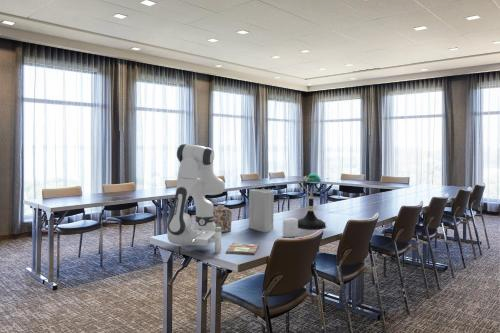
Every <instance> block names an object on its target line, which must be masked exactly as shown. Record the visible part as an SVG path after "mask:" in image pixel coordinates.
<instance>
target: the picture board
mask: <svg viewBox="0 0 500 333" xmlns="http://www.w3.org/2000/svg"><path fill="white" fill-rule="evenodd" d="M259 247H260V244H257V243H239V242H232V243H231V244H230V245H229V247H228V248H227V249H226V250H225V253H226V254H235V255H236V254H238V255H253V256H254V255H256V253H257V252H258V251H257V250H258V249H259Z"/></svg>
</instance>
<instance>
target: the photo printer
mask: <svg viewBox="0 0 500 333" xmlns="http://www.w3.org/2000/svg"><path fill="white" fill-rule="evenodd" d="M298 220H299V219H297V218H294V217H287V218H285V219H284V220H283V221H282V222H283V223H282V238H291V237H292V238H293V237H298V233H299V232H298V229H299V227H298Z"/></svg>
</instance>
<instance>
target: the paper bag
mask: <svg viewBox="0 0 500 333" xmlns="http://www.w3.org/2000/svg"><path fill="white" fill-rule="evenodd" d="M248 190H249V194H248V195H249V196H248V198H249V199H248V201H249V202H248V203H249V204H248V228H249V229H253V230H254V231H255V230H256V231H260V232H262V233H270V232H271V231H272V230H273V229H274V213H275V212H274V211H275V208H274V207H275V206H274V205H275V203H274V202H275V197H274V196H275V189H256V188H255V189H253V188H252V189H248Z"/></svg>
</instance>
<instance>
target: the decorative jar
mask: <svg viewBox="0 0 500 333" xmlns="http://www.w3.org/2000/svg"><path fill="white" fill-rule="evenodd" d="M232 214H233V212H232V211H231V210H230V208H229V207H226V206H225V204H218V205H217V206H216V207H214V206H213V215H214V222H215V224H216V227H221V233H227V232H231V231H232V217H233V216H232Z"/></svg>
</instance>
